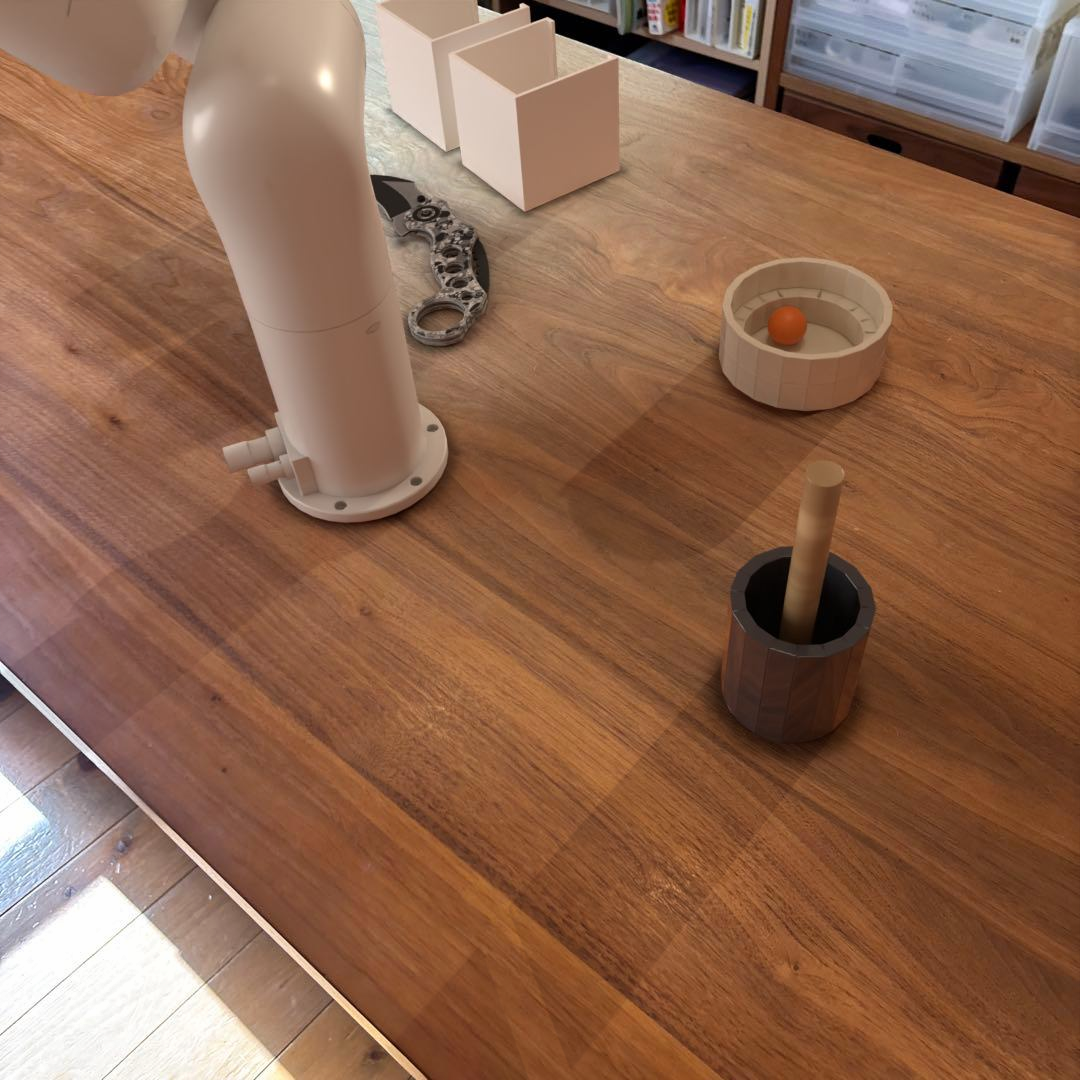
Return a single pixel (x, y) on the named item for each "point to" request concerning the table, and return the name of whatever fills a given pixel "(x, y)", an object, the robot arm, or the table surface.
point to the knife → (438, 255)
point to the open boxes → (501, 96)
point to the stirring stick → (811, 550)
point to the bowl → (829, 342)
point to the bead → (787, 325)
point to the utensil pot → (793, 650)
